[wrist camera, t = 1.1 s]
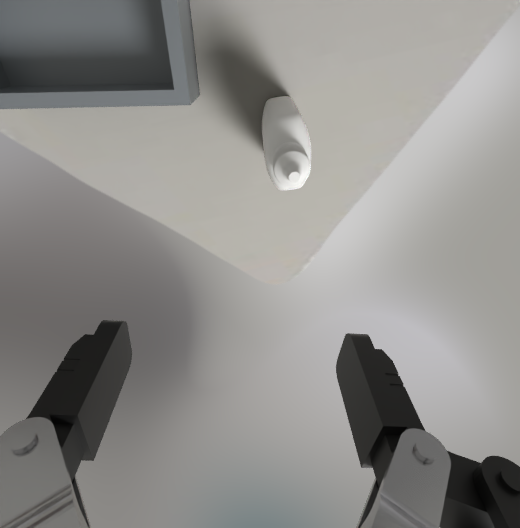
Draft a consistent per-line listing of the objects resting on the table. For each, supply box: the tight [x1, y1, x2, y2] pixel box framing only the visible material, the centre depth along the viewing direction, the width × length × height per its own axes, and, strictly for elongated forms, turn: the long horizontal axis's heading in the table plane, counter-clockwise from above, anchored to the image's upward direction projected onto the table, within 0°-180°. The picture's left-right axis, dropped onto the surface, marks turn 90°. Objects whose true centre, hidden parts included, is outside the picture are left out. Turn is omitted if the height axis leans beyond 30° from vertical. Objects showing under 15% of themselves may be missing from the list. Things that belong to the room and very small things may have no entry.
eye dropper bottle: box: [262, 96, 311, 190], centre depth 24 cm, size 4×6×12 cm
